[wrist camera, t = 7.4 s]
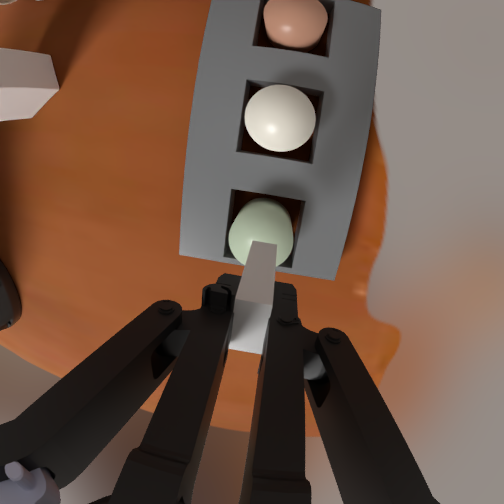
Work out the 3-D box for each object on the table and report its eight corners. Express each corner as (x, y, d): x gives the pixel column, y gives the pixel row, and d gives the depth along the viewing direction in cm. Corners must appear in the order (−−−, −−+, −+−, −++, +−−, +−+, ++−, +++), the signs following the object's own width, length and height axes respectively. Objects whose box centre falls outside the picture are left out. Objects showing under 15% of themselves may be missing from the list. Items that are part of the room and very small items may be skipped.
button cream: (304, 154, 22) (309, 157, 18) (246, 145, 22) (240, 146, 18) (313, 99, 20) (320, 91, 16) (254, 90, 20) (249, 80, 16)
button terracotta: (317, 58, 19) (324, 44, 16) (262, 49, 20) (259, 34, 16) (323, 16, 18) (329, -3, 14) (269, 7, 18) (267, -12, 14)
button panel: (329, 265, 27) (334, 280, 24) (189, 242, 28) (179, 254, 25) (371, 21, 17) (381, 9, 14) (222, -2, 18) (215, -16, 15)
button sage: (286, 254, 25) (286, 274, 22) (233, 245, 26) (225, 264, 22) (296, 202, 24) (299, 215, 20) (240, 193, 24) (232, 204, 20)
